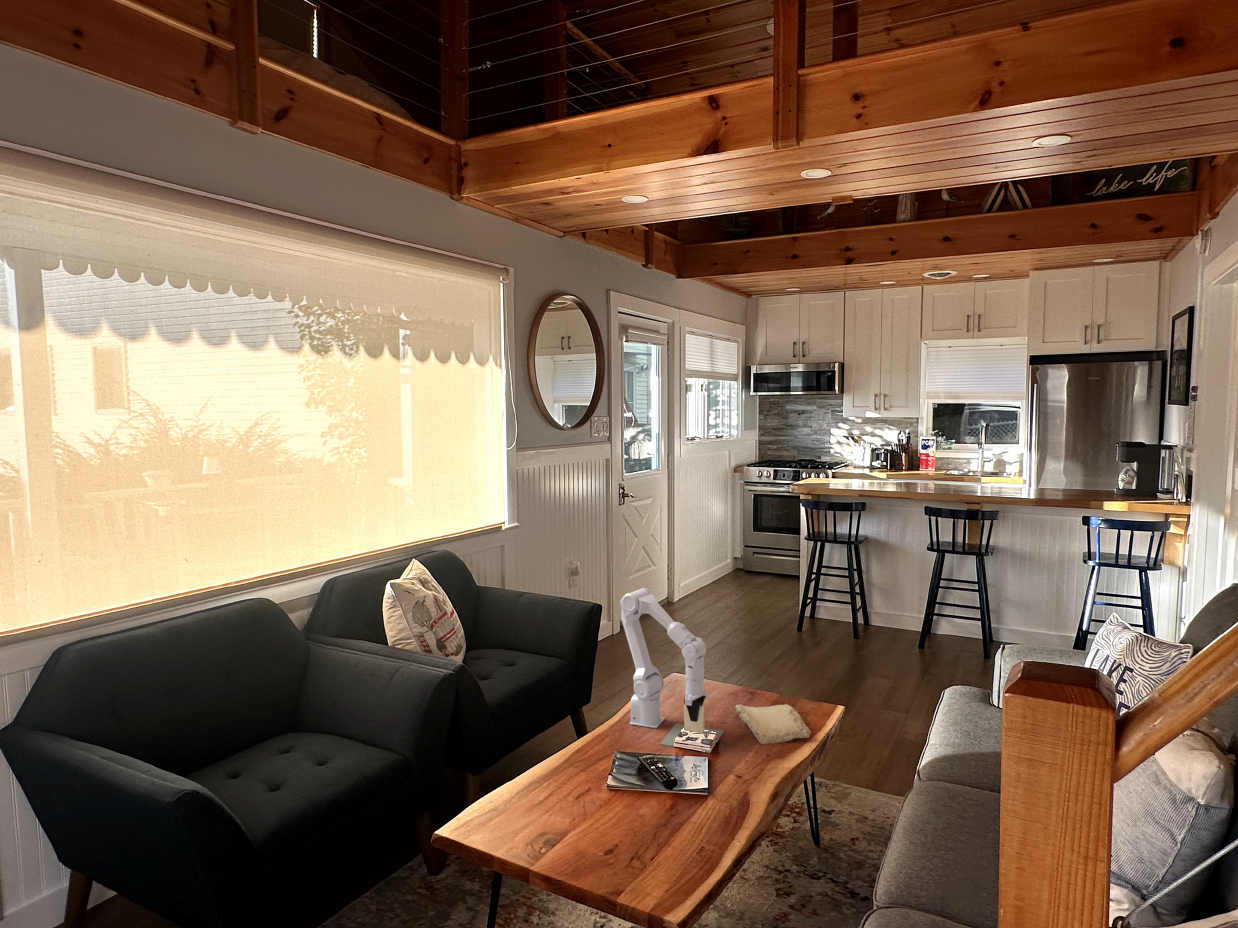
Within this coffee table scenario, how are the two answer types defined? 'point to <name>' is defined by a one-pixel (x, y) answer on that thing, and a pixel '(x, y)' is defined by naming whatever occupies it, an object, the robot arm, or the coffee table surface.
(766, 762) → the coffee table surface
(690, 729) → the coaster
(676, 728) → the mat
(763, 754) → the coffee table surface
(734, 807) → the coffee table surface
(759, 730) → the small cream pillow
